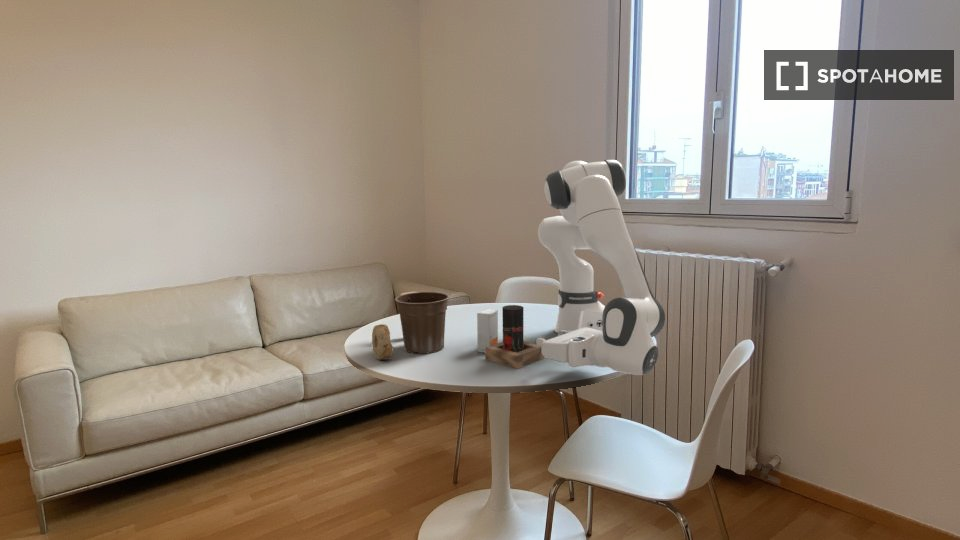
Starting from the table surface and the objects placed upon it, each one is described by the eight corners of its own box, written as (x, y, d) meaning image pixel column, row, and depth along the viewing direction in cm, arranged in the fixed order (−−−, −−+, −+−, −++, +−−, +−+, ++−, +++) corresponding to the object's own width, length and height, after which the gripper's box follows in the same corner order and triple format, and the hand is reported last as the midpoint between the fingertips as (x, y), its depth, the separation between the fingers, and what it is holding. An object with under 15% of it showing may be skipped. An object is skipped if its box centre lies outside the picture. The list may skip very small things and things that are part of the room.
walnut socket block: (544, 358, 156) (544, 346, 155) (517, 368, 147) (517, 356, 147) (512, 349, 164) (512, 338, 163) (485, 359, 155) (485, 347, 155)
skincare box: (489, 353, 161) (489, 314, 159) (477, 351, 163) (476, 312, 161) (498, 348, 166) (498, 309, 164) (486, 346, 168) (485, 308, 166)
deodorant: (527, 359, 154) (527, 308, 152) (508, 362, 152) (508, 310, 150) (517, 354, 160) (517, 304, 157) (499, 356, 157) (499, 306, 155)
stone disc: (370, 355, 161) (368, 322, 159) (382, 353, 163) (380, 320, 161) (381, 365, 152) (380, 330, 150) (394, 362, 154) (392, 328, 152)
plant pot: (413, 360, 156) (411, 305, 153) (387, 347, 169) (385, 296, 166) (460, 349, 165) (459, 297, 163) (432, 337, 178) (431, 289, 176)
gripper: (614, 326, 143) (571, 318, 153) (570, 343, 129) (525, 333, 138) (614, 349, 144) (570, 340, 154) (570, 369, 130) (525, 357, 139)
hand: (548, 337), depth 146 cm, fingers open, 8 cm apart
